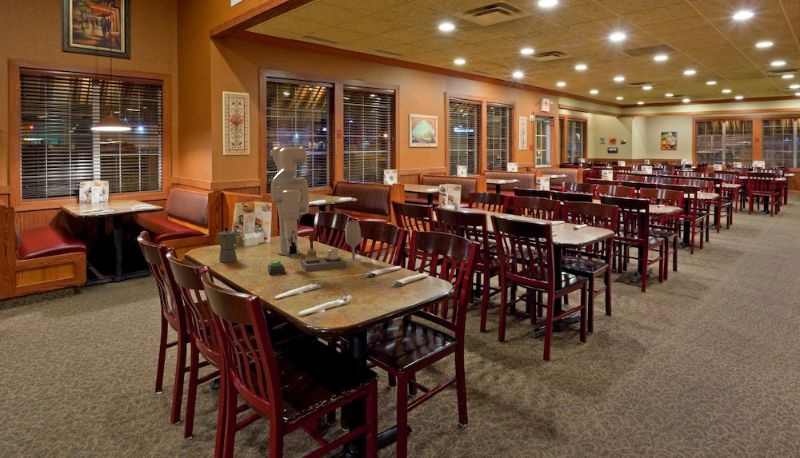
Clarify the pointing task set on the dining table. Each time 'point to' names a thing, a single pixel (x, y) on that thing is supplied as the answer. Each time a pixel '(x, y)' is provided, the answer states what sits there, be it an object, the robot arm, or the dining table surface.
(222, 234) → the coffeepot
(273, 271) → the button housing
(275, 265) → the button
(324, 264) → the tray
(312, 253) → the hand bell
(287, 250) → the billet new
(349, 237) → the wineglass
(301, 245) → the dining table surface
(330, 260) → the billet
